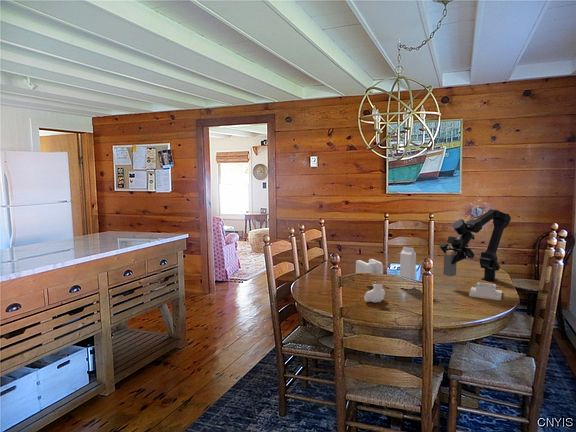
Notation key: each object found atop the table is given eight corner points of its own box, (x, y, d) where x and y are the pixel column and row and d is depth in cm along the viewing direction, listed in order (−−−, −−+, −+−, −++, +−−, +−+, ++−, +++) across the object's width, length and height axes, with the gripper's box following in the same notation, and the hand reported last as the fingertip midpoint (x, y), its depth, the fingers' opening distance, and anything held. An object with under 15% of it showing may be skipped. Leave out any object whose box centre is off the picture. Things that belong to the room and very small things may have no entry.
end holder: (471, 289, 214) (472, 280, 214) (501, 292, 208) (502, 283, 207) (468, 296, 202) (469, 286, 202) (500, 300, 195) (501, 290, 195)
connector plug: (449, 273, 220) (449, 249, 219) (455, 275, 216) (456, 251, 215) (443, 274, 218) (444, 250, 216) (450, 276, 214) (450, 251, 213)
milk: (404, 286, 221) (405, 245, 219) (415, 288, 217) (416, 247, 215) (399, 288, 217) (400, 247, 215) (410, 290, 213) (411, 248, 211)
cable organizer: (383, 284, 225) (384, 263, 224) (366, 285, 223) (366, 264, 221) (371, 277, 240) (371, 258, 239) (354, 278, 237) (354, 259, 236)
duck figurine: (366, 308, 192) (376, 293, 185) (358, 295, 197) (367, 280, 190) (385, 304, 198) (396, 289, 191) (376, 291, 203) (387, 277, 196)
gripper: (442, 228, 224) (427, 250, 221) (471, 233, 208) (455, 256, 204) (451, 241, 229) (437, 263, 225) (481, 246, 213) (466, 270, 209)
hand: (448, 263), depth 216 cm, fingers closed on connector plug, 4 cm apart
